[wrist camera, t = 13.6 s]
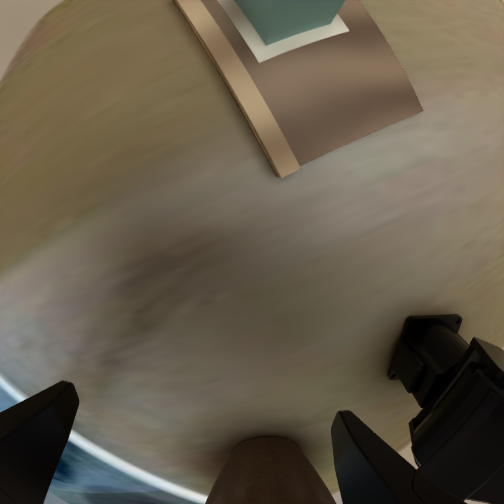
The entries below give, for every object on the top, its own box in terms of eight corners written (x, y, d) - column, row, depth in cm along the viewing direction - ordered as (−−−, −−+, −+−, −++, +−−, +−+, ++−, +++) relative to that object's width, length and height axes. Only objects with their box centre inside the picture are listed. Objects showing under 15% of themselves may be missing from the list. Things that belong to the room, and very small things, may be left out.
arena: (419, 111, 17) (441, 106, 15) (276, 176, 19) (281, 178, 16) (312, -49, 13) (319, -69, 11) (172, -2, 15) (161, -22, 12)
